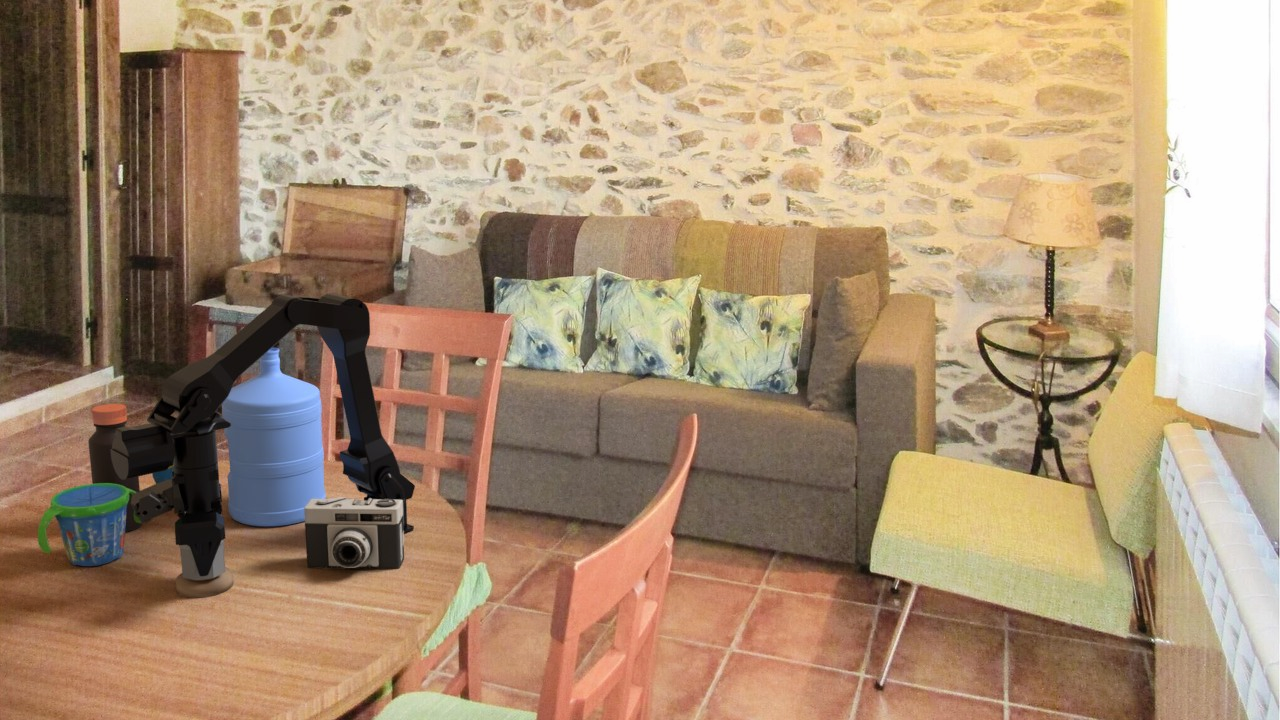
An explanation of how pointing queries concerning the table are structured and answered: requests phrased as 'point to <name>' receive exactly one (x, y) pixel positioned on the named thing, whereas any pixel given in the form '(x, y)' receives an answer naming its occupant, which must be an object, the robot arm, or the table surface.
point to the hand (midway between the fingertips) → (203, 567)
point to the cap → (191, 569)
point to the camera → (354, 533)
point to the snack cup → (89, 522)
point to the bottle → (100, 453)
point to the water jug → (273, 446)
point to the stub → (204, 585)
